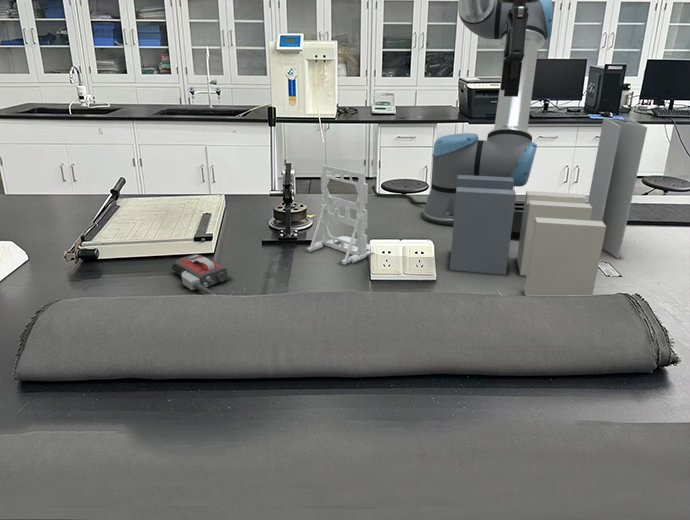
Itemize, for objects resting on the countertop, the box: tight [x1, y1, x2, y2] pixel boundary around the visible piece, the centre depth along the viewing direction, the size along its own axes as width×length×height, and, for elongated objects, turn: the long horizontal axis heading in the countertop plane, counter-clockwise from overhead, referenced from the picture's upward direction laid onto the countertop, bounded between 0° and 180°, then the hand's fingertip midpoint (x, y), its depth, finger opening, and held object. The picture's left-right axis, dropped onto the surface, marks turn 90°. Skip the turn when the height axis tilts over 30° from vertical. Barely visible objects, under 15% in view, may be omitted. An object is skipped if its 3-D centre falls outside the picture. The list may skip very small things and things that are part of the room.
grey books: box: [449, 175, 517, 276], centre depth 118 cm, size 10×12×19 cm
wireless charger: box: [510, 211, 523, 241], centre depth 143 cm, size 18×18×2 cm
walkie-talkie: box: [171, 253, 228, 296], centre depth 111 cm, size 9×4×20 cm
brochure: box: [587, 117, 648, 259], centre depth 125 cm, size 14×6×30 cm, turn 168°
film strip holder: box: [306, 164, 371, 266], centre depth 125 cm, size 14×14×20 cm
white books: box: [516, 190, 592, 277], centre depth 115 cm, size 9×12×16 cm
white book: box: [523, 217, 606, 296], centre depth 102 cm, size 3×12×16 cm, turn 78°
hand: (508, 93), depth 113 cm, fingers open, 13 cm apart
